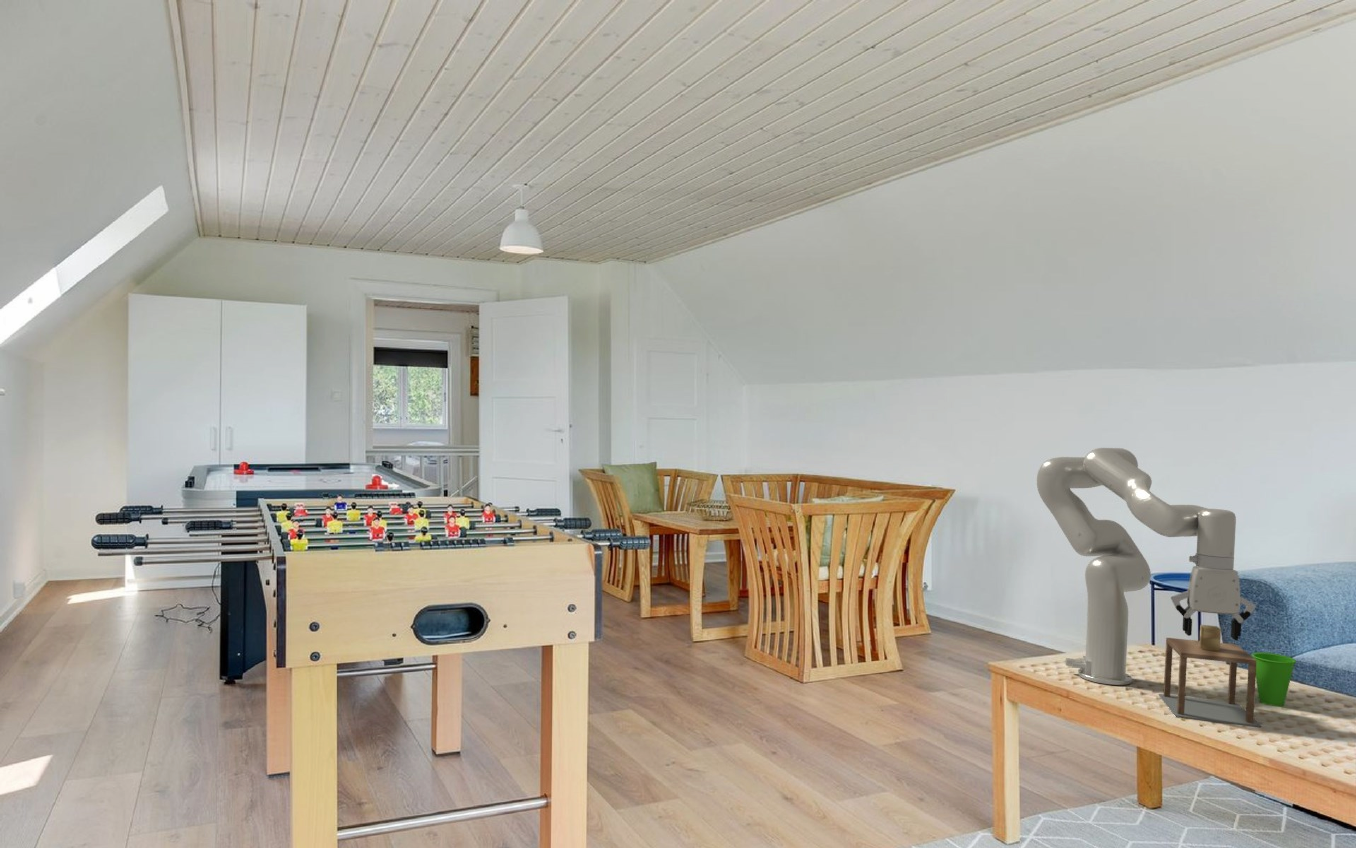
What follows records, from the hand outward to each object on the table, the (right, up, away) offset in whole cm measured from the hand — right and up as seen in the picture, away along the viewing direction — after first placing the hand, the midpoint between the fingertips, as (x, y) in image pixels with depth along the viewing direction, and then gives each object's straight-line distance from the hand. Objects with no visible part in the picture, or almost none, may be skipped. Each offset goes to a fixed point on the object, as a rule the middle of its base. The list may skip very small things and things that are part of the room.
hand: (1211, 636), depth 213 cm
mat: (-1, -17, 0) cm, 17 cm away
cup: (+19, -18, +8) cm, 28 cm away
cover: (-1, -17, 0) cm, 17 cm away
